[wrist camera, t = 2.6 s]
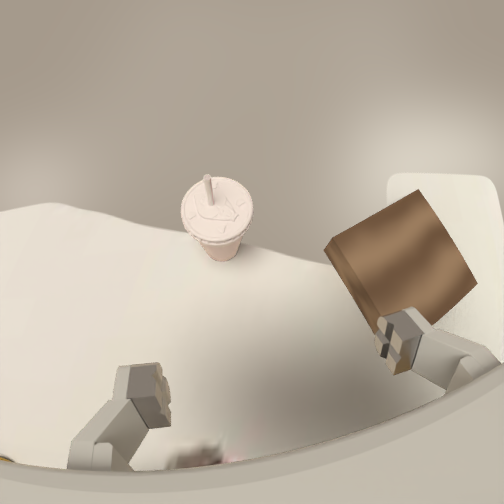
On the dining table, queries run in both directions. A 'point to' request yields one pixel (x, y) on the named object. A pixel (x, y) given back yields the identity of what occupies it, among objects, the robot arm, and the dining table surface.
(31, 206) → the dining table surface
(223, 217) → the smoothie
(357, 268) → the plinth
